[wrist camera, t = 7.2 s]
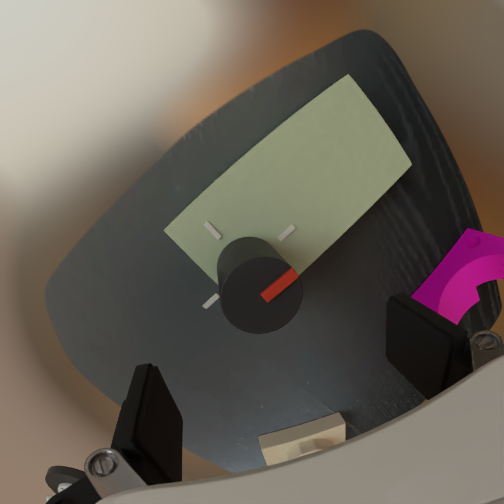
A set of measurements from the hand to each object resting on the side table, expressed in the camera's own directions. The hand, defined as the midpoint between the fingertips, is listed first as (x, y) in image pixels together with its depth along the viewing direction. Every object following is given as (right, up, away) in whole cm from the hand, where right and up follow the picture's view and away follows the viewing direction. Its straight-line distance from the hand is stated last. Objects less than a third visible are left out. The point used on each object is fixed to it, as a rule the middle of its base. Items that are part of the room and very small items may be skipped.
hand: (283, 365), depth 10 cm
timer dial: (-1, +3, +10) cm, 11 cm away
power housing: (+5, -20, +20) cm, 28 cm away
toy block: (+20, 0, +18) cm, 27 cm away
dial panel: (+2, +8, +12) cm, 15 cm away
